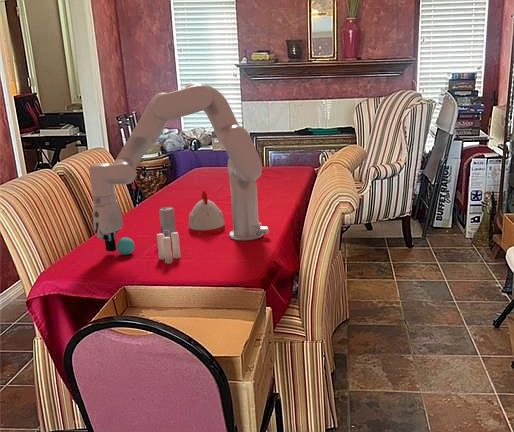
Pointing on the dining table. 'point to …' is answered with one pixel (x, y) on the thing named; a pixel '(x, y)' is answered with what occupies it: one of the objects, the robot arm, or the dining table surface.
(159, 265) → the dining table surface
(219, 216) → the kitchen timer
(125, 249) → the ball
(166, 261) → the pin
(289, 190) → the dining table surface
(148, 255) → the dining table surface
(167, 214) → the energy drink
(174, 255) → the pin
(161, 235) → the front pin
